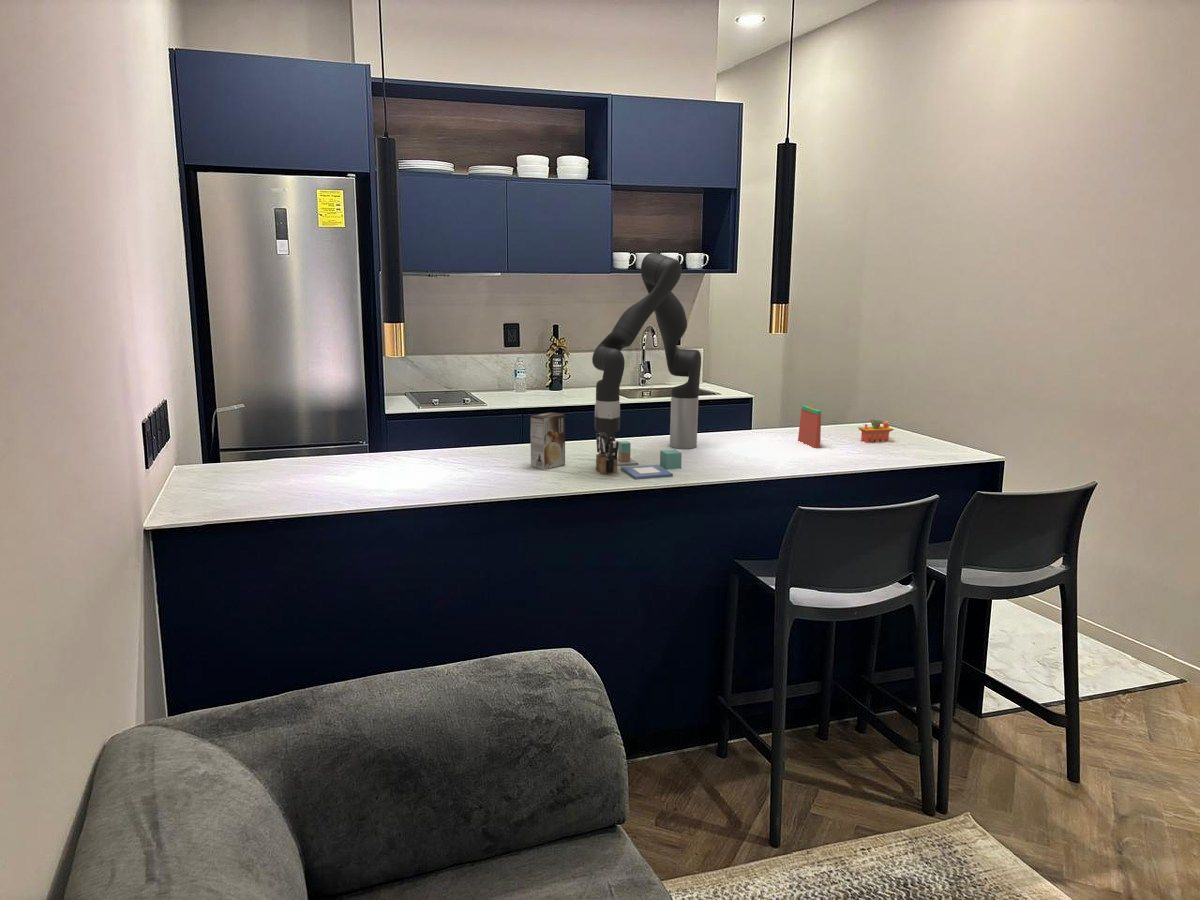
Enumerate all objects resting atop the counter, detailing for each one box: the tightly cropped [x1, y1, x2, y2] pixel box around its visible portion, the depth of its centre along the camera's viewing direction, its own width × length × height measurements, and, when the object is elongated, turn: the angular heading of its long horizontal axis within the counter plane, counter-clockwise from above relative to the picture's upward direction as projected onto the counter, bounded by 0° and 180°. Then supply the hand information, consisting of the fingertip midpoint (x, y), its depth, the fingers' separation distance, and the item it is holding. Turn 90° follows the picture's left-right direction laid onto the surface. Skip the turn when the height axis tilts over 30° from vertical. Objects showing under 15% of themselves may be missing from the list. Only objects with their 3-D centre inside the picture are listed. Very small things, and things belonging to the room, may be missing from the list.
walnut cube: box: [595, 453, 618, 475], centre depth 262 cm, size 5×5×5 cm
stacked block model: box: [617, 440, 639, 467], centre depth 273 cm, size 7×7×7 cm
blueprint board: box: [620, 464, 674, 480], centre depth 262 cm, size 12×12×1 cm
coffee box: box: [529, 411, 566, 470], centre depth 267 cm, size 9×6×16 cm
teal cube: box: [659, 448, 683, 471], centre depth 269 cm, size 5×5×5 cm
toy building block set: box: [797, 404, 895, 449], centre depth 307 cm, size 12×35×14 cm, turn 105°
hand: (606, 470), depth 263 cm, fingers closed on walnut cube, 5 cm apart
